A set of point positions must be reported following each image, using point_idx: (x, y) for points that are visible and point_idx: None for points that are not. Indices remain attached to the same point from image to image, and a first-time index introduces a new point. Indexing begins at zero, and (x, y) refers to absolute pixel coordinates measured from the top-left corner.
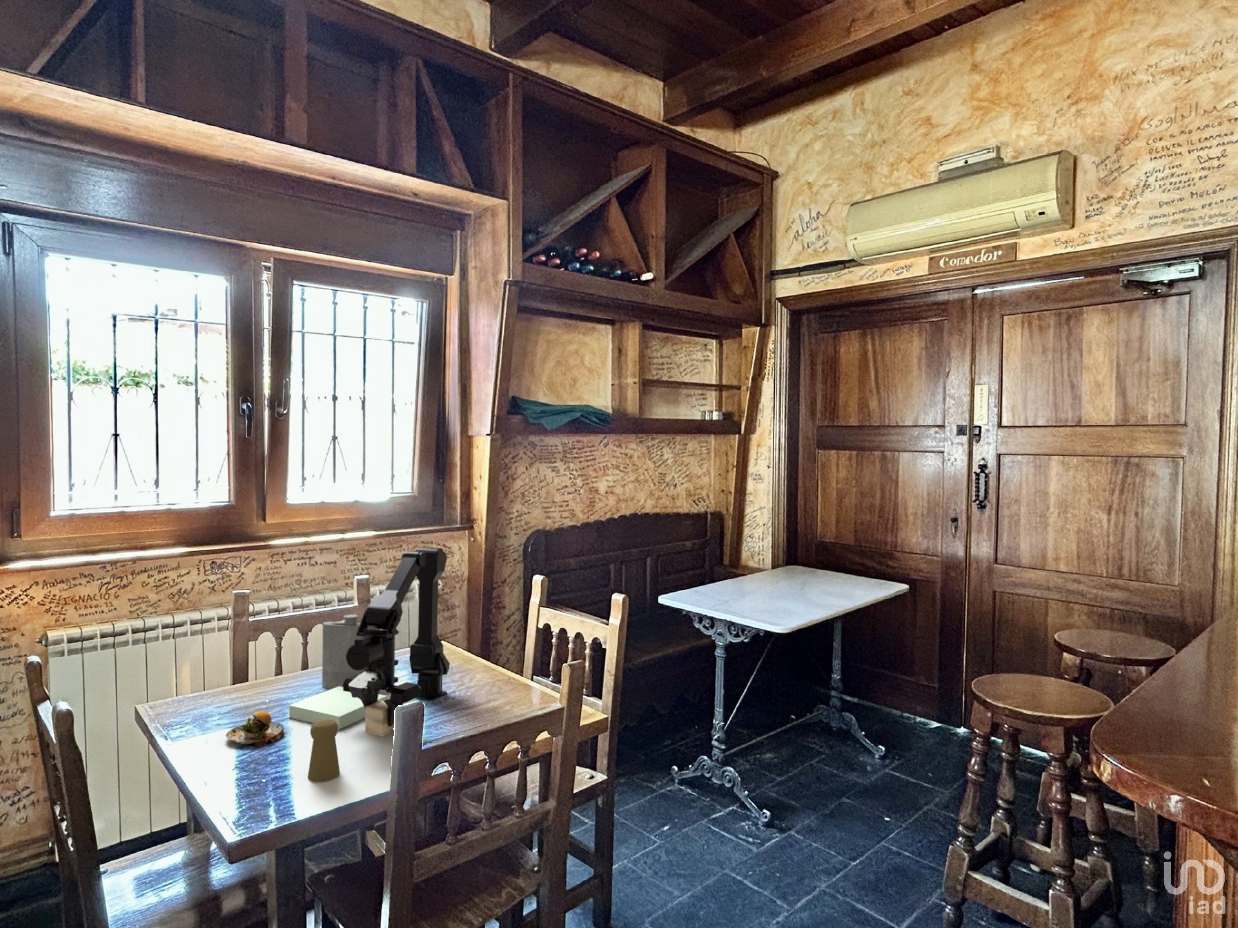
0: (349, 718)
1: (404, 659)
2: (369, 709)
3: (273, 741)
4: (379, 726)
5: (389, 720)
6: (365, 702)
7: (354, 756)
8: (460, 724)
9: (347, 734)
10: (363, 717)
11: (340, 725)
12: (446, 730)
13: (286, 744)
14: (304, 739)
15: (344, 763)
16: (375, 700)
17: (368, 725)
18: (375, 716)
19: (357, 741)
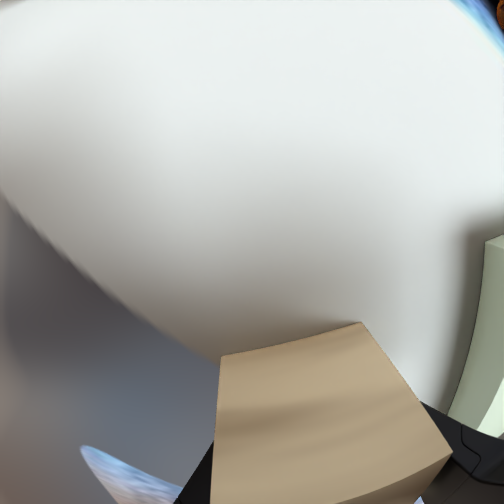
0: (496, 321)
1: None
2: (394, 464)
3: (498, 17)
4: (242, 394)
5: (210, 457)
6: (478, 464)
7: (76, 67)
8: (134, 495)
9: (419, 227)
10: (462, 378)
11: (495, 256)
12: (109, 470)
13: (469, 8)
14: (484, 66)
15: (65, 13)
16: (430, 499)
17: (351, 359)
18: (296, 445)
19: (269, 196)
